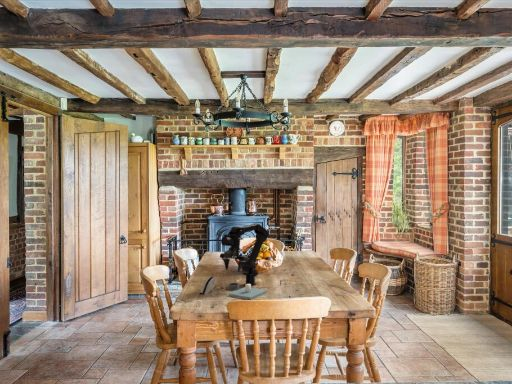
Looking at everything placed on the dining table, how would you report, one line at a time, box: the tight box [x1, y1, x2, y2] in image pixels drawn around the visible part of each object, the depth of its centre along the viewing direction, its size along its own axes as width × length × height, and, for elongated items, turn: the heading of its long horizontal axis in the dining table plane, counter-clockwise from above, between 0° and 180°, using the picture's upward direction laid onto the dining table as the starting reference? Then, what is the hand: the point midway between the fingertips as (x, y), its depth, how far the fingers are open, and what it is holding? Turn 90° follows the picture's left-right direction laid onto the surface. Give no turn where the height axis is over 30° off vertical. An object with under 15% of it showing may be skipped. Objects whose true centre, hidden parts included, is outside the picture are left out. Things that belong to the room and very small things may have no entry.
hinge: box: [198, 275, 217, 295], centre depth 256 cm, size 17×5×10 cm, turn 170°
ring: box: [227, 282, 241, 291], centre depth 261 cm, size 7×7×3 cm
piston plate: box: [228, 283, 268, 300], centre depth 248 cm, size 18×16×6 cm
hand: (232, 270), depth 259 cm, fingers open, 9 cm apart
